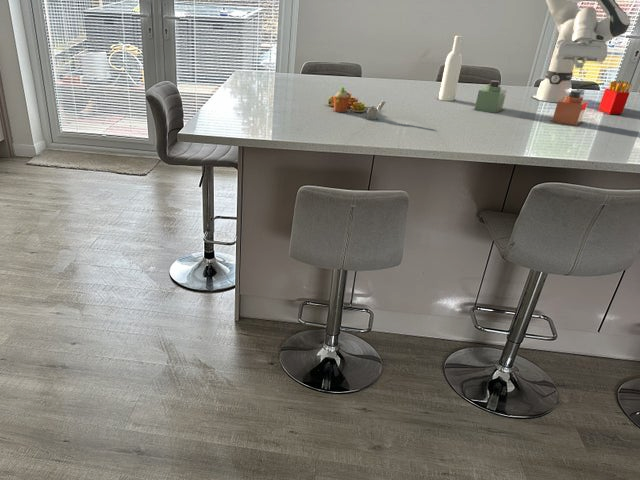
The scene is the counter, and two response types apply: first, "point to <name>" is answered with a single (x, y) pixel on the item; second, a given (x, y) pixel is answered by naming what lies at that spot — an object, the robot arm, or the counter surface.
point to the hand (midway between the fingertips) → (579, 67)
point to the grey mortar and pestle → (374, 111)
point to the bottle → (451, 72)
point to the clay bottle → (569, 110)
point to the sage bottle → (490, 99)
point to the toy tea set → (345, 102)
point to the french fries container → (615, 98)
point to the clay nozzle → (575, 94)
